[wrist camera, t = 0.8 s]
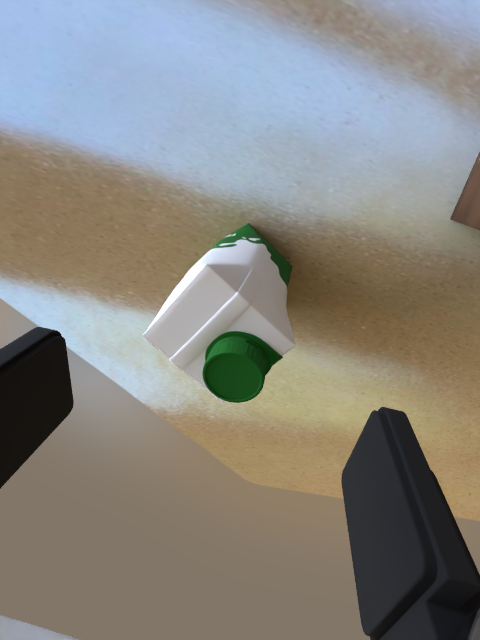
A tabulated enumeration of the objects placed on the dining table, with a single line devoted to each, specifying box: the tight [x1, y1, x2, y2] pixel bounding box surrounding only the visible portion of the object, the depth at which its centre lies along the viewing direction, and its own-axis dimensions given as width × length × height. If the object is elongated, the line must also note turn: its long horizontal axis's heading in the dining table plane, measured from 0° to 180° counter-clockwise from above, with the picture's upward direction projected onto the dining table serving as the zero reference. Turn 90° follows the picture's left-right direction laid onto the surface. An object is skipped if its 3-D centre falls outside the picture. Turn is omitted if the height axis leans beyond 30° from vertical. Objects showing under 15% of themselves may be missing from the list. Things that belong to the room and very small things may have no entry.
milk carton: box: [143, 223, 295, 403], centre depth 28 cm, size 9×9×20 cm
